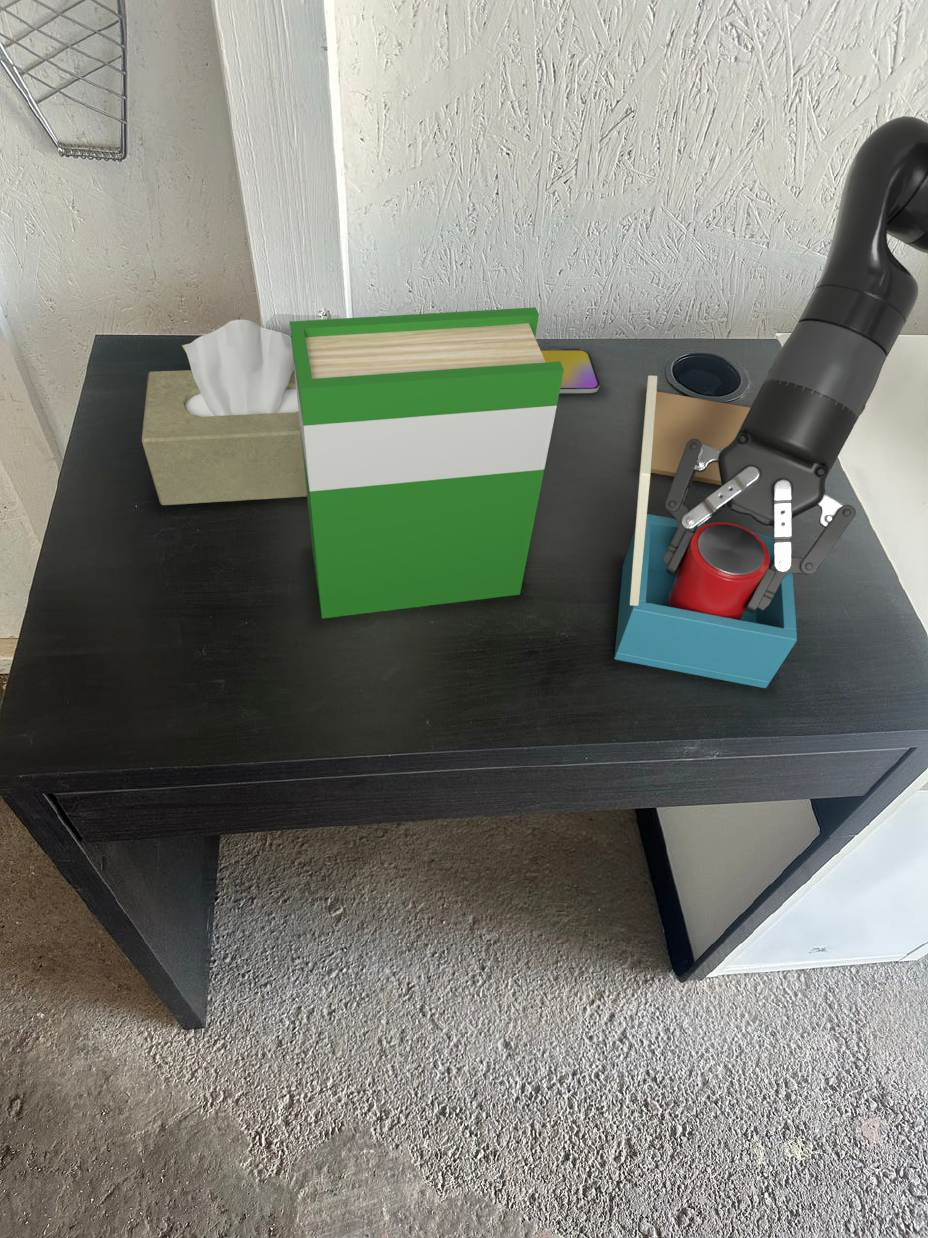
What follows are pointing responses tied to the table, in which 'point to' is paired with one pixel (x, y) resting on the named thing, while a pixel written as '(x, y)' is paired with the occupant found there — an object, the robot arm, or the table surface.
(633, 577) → the lid
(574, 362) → the smartphone
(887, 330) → the robot arm
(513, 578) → the hardback book
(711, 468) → the cork mat
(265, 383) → the tissue box
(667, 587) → the teal open box
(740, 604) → the drinks can
